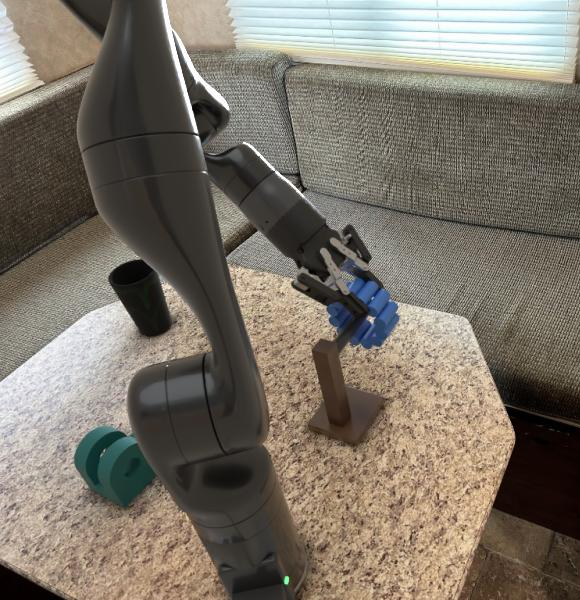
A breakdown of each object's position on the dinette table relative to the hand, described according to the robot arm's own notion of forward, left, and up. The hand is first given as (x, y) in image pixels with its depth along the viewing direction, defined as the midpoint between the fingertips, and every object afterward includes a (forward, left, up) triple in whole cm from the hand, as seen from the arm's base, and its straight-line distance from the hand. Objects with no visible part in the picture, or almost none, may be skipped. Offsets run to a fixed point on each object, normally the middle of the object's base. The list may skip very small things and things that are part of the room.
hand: (373, 304), depth 83 cm
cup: (+23, +38, -15) cm, 47 cm away
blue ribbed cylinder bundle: (+1, +2, -7) cm, 7 cm away
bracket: (-5, +34, -15) cm, 37 cm away
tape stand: (-3, +5, -15) cm, 16 cm away
